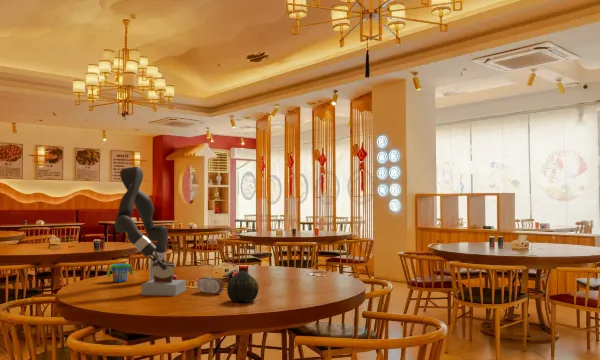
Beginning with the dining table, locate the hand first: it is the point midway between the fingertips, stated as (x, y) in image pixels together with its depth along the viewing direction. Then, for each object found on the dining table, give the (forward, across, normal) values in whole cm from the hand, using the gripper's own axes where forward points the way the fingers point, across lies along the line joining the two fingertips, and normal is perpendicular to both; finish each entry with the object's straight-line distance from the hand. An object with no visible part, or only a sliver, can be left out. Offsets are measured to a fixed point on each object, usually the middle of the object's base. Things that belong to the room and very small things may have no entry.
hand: (167, 268), depth 268 cm
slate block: (+8, 0, +10) cm, 13 cm away
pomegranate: (+8, +20, +10) cm, 24 cm away
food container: (+4, +1, +6) cm, 7 cm away
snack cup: (-14, +41, +33) cm, 54 cm away
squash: (+37, -27, -19) cm, 50 cm away
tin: (+25, -4, -7) cm, 26 cm away
